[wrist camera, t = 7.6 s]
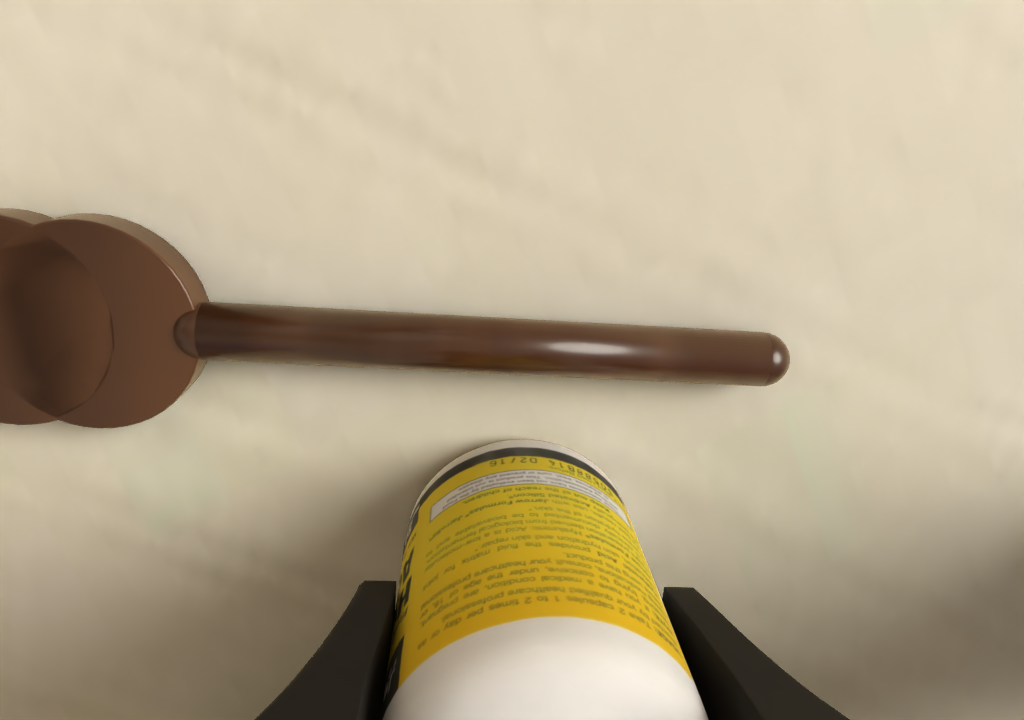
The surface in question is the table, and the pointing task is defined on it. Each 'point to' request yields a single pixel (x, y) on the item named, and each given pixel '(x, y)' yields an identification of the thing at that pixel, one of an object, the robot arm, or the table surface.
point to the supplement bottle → (530, 599)
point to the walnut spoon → (273, 332)
